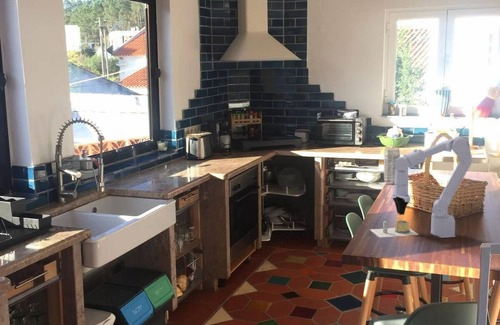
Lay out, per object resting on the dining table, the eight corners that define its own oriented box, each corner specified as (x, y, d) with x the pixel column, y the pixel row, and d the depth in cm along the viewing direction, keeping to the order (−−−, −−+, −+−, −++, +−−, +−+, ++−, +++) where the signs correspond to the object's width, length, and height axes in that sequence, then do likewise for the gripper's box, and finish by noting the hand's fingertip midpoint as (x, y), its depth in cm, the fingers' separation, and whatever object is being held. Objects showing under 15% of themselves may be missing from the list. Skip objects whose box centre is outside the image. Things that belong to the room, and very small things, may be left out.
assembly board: (407, 229, 255) (407, 216, 254) (418, 236, 243) (419, 223, 242) (369, 231, 252) (369, 218, 251) (379, 239, 241) (379, 226, 240)
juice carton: (398, 182, 355) (399, 144, 351) (399, 184, 347) (400, 146, 343) (383, 182, 357) (384, 144, 352) (384, 184, 349) (384, 146, 345)
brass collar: (401, 227, 252) (401, 219, 251) (411, 229, 247) (411, 222, 247) (393, 229, 248) (393, 222, 248) (403, 232, 244) (403, 224, 244)
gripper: (386, 181, 253) (385, 210, 255) (399, 188, 239) (398, 218, 241) (401, 180, 254) (400, 209, 256) (415, 187, 240) (414, 217, 242)
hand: (400, 214), depth 249 cm, fingers closed
